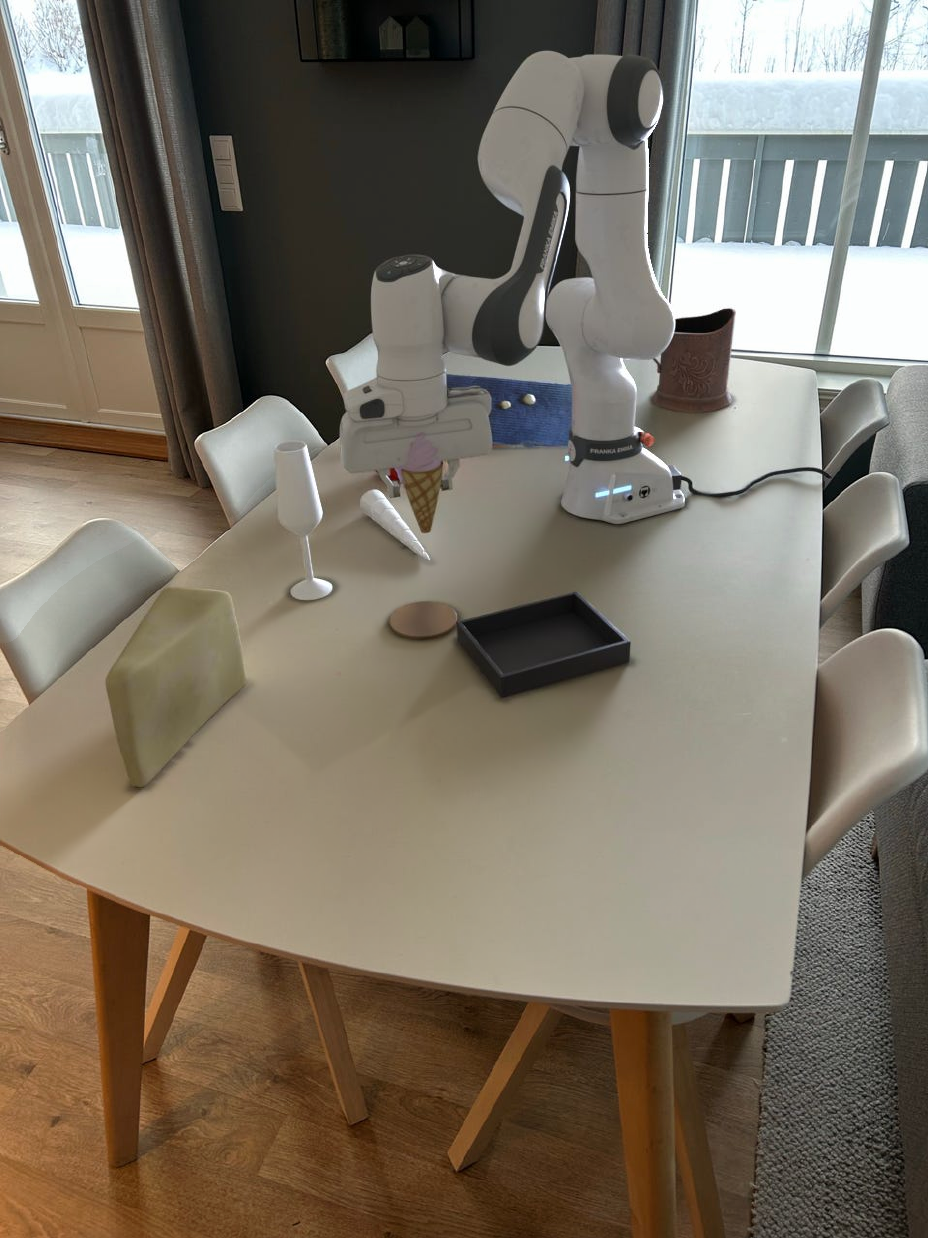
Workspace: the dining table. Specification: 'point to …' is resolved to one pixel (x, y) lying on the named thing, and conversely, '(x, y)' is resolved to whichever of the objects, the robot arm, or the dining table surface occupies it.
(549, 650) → the tray
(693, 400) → the cup holder
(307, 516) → the champagne flute
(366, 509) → the unicorn horn
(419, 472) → the ice cream cone
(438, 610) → the coaster
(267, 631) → the dining table surface
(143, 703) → the cheese
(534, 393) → the mat
